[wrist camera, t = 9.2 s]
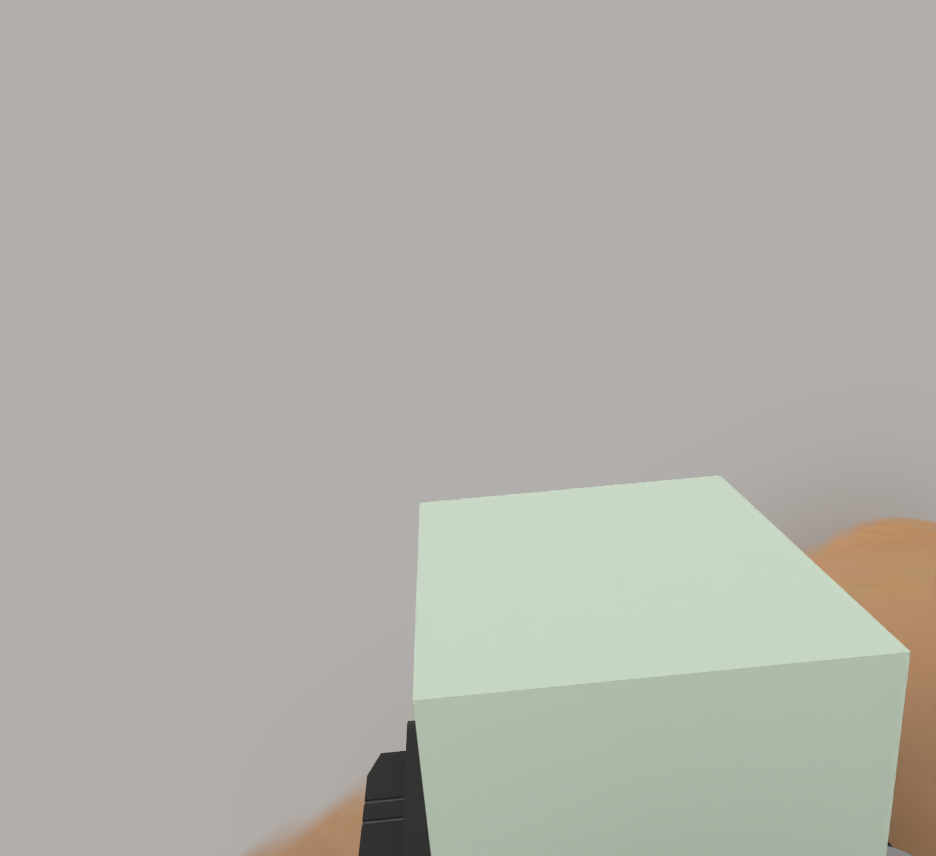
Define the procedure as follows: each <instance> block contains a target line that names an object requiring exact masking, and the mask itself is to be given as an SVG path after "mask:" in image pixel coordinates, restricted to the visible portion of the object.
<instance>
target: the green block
mask: <svg viewBox="0 0 936 856" xmlns="http://www.w3.org/2000/svg"><path fill="white" fill-rule="evenodd" d="M415 624H416V625H415V651H414V679H413V707H414V715H415V724H416V732H417V741H418V749H419V758H420V766H421V775H422V783H423V792H424V800H425V808H426V817H427V825H428V834H429V842H430V851H431V856H886V853H887V845H888V836H889V828H890V819H891V811H892V803H893V794H894V786H895V777H896V769H897V761H898V752H899V744H900V735H901V727H902V719H903V710H904V702H905V693H906V685H907V677H908V668H909V660H910V651H909V650H908V649H907V648H906V647H905V646H904V645H903V644H901V643H900V642H899V641H898V640H897V639H896V638H895V637H894V636H893V635H892V634H891V633H890V632H889V631H887V630H886V629H885V628H884V627H883V626H882V625H881V624H880V623H879V622H878V621H877V620H876V619H874V618H873V617H872V616H871V615H870V614H869V613H868V612H867V611H866V610H865V609H864V608H863V607H861V606H860V605H859V604H858V603H857V602H856V601H855V600H854V599H853V598H852V597H851V596H850V595H849V594H847V593H846V592H845V591H844V590H843V589H842V588H841V587H840V586H839V585H838V584H837V583H836V582H834V581H833V580H832V579H831V578H830V577H829V576H828V575H827V574H826V573H825V572H824V571H823V570H822V569H820V568H819V567H818V566H817V565H816V564H815V563H814V562H813V561H812V560H811V559H810V558H809V557H807V556H806V555H805V554H804V553H803V552H802V551H801V550H800V549H799V548H798V547H797V546H796V545H795V544H793V543H792V542H791V541H790V540H789V539H788V538H787V537H786V536H785V535H784V534H783V533H782V532H780V531H779V530H778V529H777V528H776V527H775V526H774V525H773V524H772V523H771V522H770V521H769V520H767V519H766V518H765V517H764V516H763V515H762V514H761V513H760V512H759V511H758V510H757V509H756V508H755V507H753V506H752V505H751V504H750V503H749V502H748V501H747V500H746V499H745V498H744V497H743V496H742V495H740V494H739V493H738V492H737V491H736V490H735V489H734V488H733V487H732V486H731V485H730V484H729V483H728V482H726V481H725V480H724V479H723V478H722V477H721V476H708V477H697V478H686V479H675V480H664V481H653V482H642V483H632V484H621V485H610V486H599V487H589V488H577V489H566V490H555V491H545V492H533V493H522V494H511V495H501V496H490V497H478V498H469V499H468V498H467V499H456V500H446V501H434V502H423V503H420V512H419V541H418V568H417V595H416V623H415Z"/></svg>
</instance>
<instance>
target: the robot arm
mask: <svg viewBox="0 0 936 856" xmlns="http://www.w3.org/2000/svg"><path fill="white" fill-rule="evenodd" d="M407 724H408V725H407V742H406V751H400V752H390V753H381V754H380V756H379V758H378V759H377V761H376V762H375V764H374V766H373V767H372V769H371V771H370V772H369V774H368V776H367V784H366V793H365V805H364V812H363V825H362V830H361V839H360V848H359V856H431V851H430V842H429V834H428V825H427V817H426V808H425V800H424V792H423V783H422V775H421V766H420V758H419V749H418V741H417V732H416V724H415V721H408V723H407ZM886 856H913V855H911V854H909V853H907V852H905V851H902V850H899V849H897V848H894V847H892V846H891V845H890V843H889V842H888V845H887V853H886Z"/></svg>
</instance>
